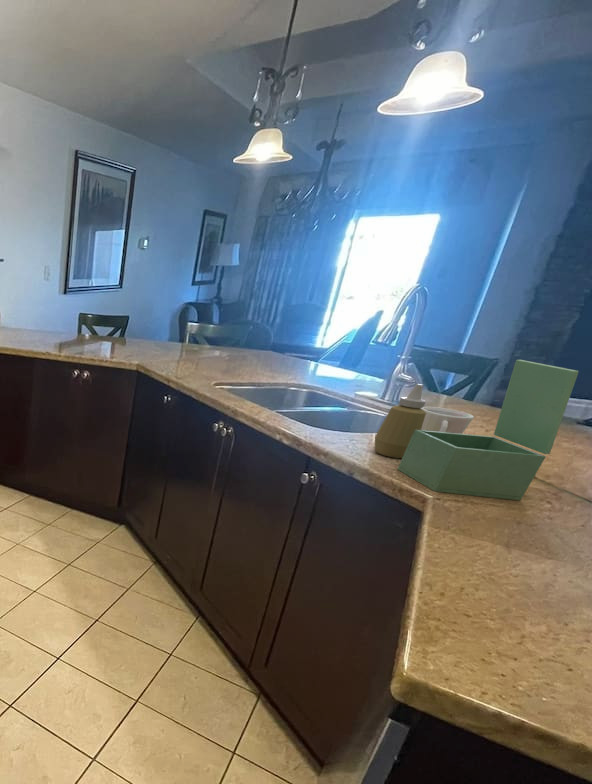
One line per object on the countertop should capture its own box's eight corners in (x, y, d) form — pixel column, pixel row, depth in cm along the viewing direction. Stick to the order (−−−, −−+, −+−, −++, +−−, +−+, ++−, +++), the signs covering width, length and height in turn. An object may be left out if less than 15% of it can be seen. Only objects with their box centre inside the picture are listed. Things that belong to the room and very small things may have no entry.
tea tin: (434, 491, 103) (456, 447, 99) (397, 469, 114) (414, 429, 110) (520, 500, 100) (546, 456, 96) (473, 477, 112) (494, 436, 108)
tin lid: (573, 371, 90) (579, 370, 90) (515, 359, 102) (520, 359, 101) (544, 454, 96) (550, 454, 96) (493, 434, 108) (497, 434, 107)
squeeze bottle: (416, 462, 119) (450, 389, 112) (377, 457, 122) (407, 385, 114) (400, 451, 126) (431, 382, 119) (363, 447, 129) (391, 379, 121)
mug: (455, 448, 131) (472, 412, 127) (458, 462, 121) (478, 423, 117) (404, 438, 137) (420, 404, 133) (403, 451, 127) (420, 414, 123)
